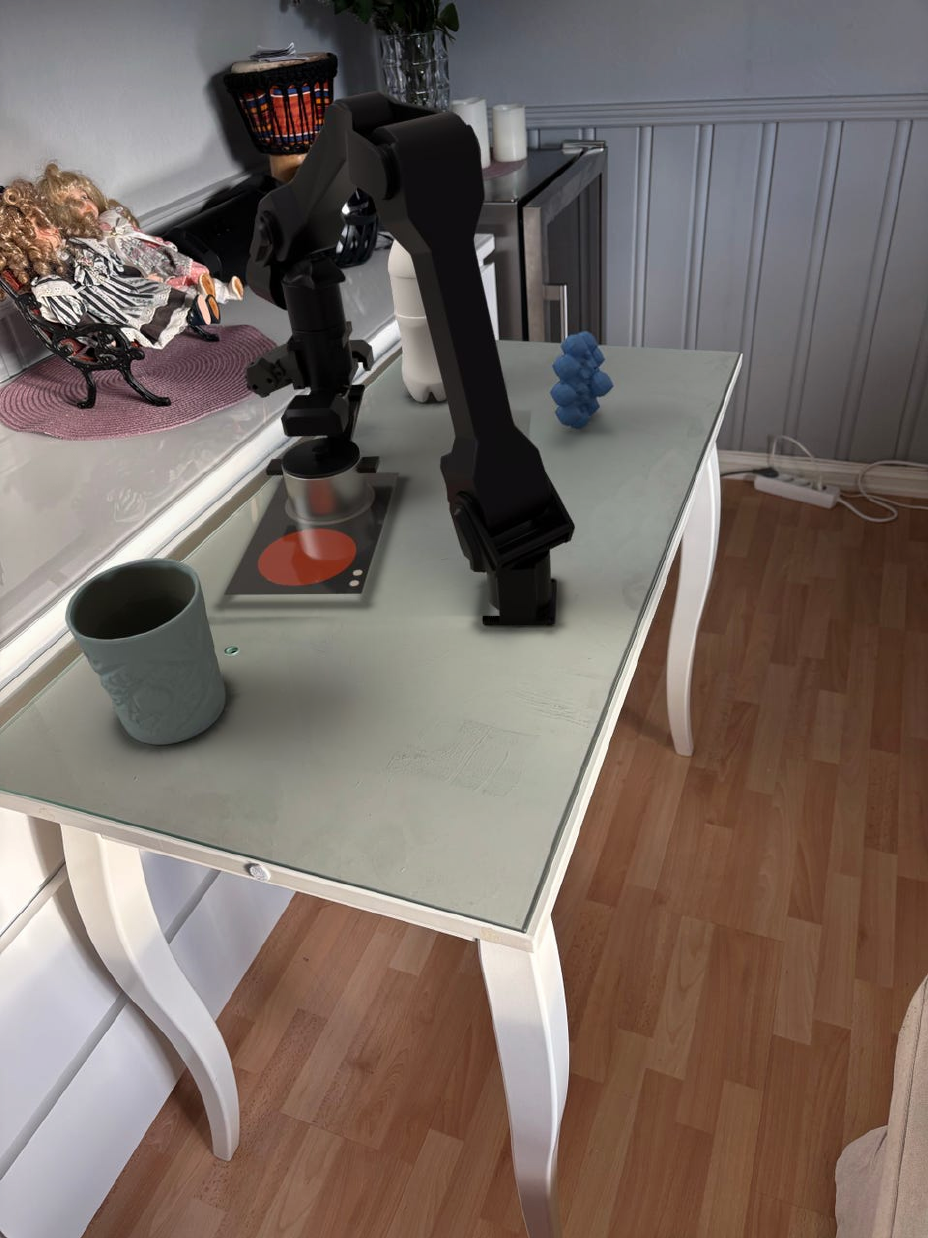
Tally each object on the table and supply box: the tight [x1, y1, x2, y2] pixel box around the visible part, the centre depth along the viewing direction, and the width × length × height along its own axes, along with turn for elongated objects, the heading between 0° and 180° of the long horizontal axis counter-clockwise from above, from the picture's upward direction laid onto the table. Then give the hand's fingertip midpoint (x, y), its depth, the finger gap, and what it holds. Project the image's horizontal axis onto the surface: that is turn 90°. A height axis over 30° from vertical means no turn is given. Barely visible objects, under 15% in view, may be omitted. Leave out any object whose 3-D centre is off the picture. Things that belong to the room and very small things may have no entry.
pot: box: [265, 436, 381, 521], centre depth 96 cm, size 8×12×6 cm
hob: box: [223, 471, 400, 596], centre depth 95 cm, size 23×14×1 cm, turn 174°
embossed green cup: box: [64, 557, 227, 746], centre depth 72 cm, size 10×10×12 cm
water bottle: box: [387, 238, 447, 403], centre depth 112 cm, size 7×7×25 cm
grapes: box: [549, 330, 615, 430], centre depth 105 cm, size 12×7×12 cm, turn 152°
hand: (343, 455), depth 104 cm, fingers closed
